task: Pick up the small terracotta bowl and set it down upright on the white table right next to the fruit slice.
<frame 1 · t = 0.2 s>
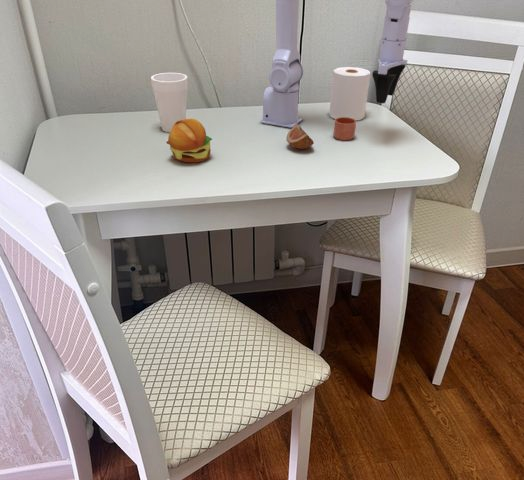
hand: (384, 98, 140), 10 cm above the table, tool pointing down, fingers open, 7 cm apart
foam cup: (173, 129, 150), on the table
toilet paper: (346, 116, 161), on the table
fruit slice: (299, 149, 140), on the table
cheeseburger: (191, 158, 134), on the table
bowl: (343, 137, 147), on the table
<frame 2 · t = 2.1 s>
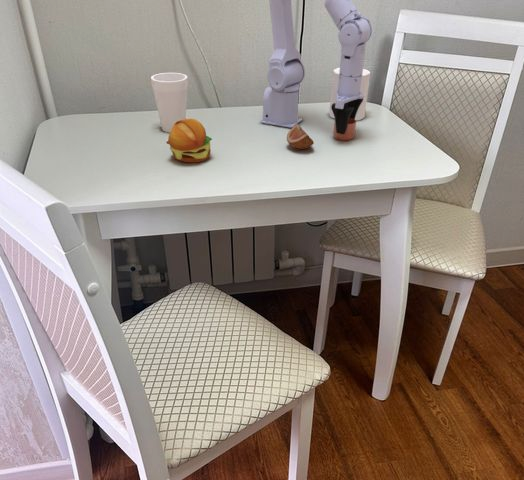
hand: (344, 129, 145), 2 cm above the table, tool pointing down, fingers closed on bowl, 5 cm apart
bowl: (343, 137, 147), on the table, touching gripper
everything else where it was.
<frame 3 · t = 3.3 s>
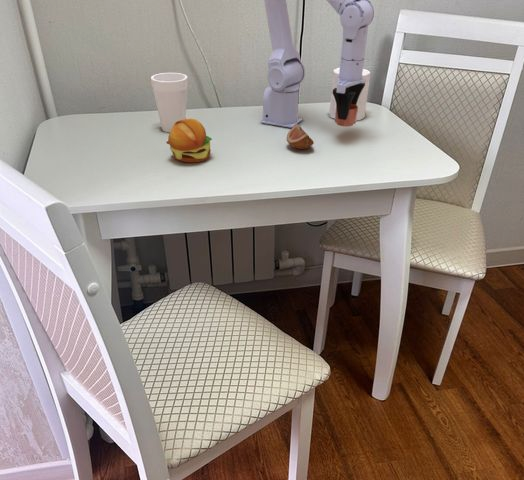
hand: (345, 115, 143), 6 cm above the table, tool pointing down, fingers closed on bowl, 5 cm apart
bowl: (345, 123, 144), point 4 cm above the table, touching gripper
everything else where it was.
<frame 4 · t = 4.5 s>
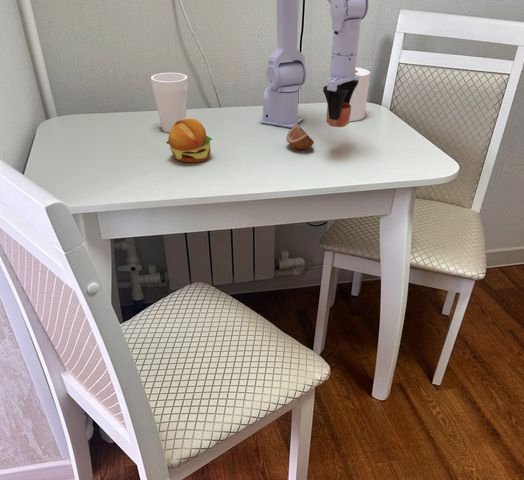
hand: (338, 115, 132), 9 cm above the table, tool pointing down, fingers closed on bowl, 5 cm apart
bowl: (337, 124, 134), point 7 cm above the table, touching gripper
everything else where it was.
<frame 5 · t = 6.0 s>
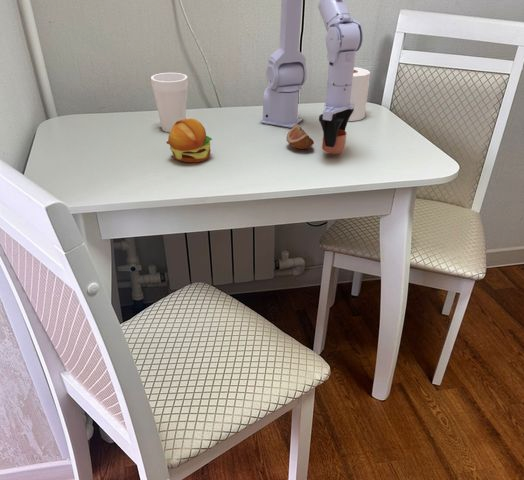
hand: (333, 142, 135), 3 cm above the table, tool pointing down, fingers closed on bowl, 5 cm apart
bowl: (333, 150, 136), point 1 cm above the table, touching gripper
everything else where it was.
when the fingers open (2 cm above the table, at t = 6.9 s): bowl stays where it is, on the table.
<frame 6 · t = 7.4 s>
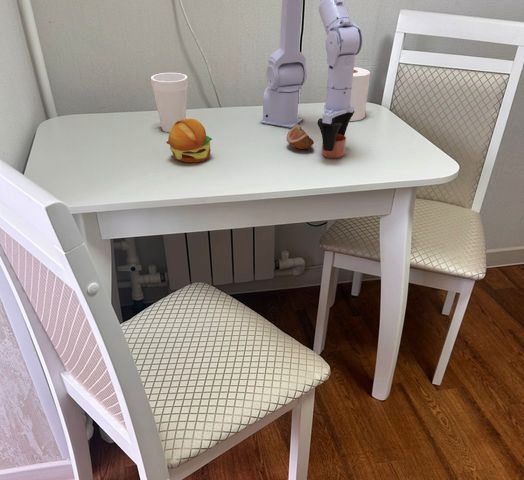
hand: (333, 145, 135), 2 cm above the table, tool pointing down, fingers open, 7 cm apart
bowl: (332, 155, 137), on the table
everything else where it was.
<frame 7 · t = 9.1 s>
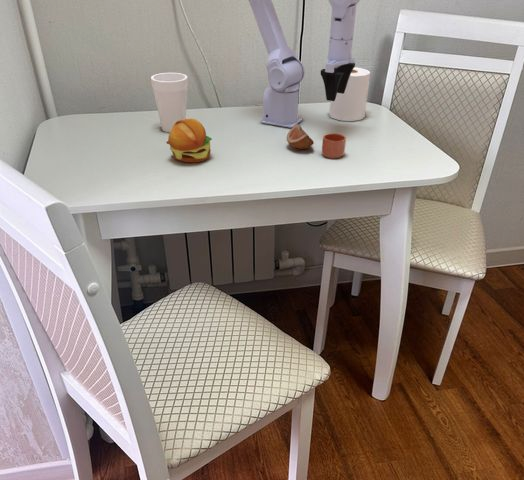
hand: (335, 96, 143), 9 cm above the table, tool pointing down, fingers open, 7 cm apart
nothing on the table moved.
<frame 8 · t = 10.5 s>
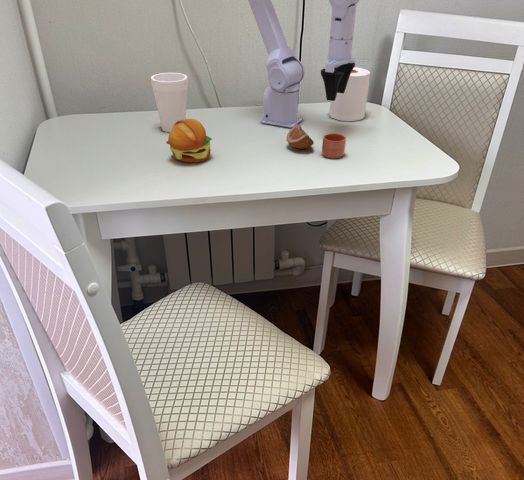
hand: (335, 96, 143), 9 cm above the table, tool pointing down, fingers open, 7 cm apart
nothing on the table moved.
at the end: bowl 9.1 cm from the fruit slice (horizontally); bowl inside the target area (0.1 cm from its centre), on the table; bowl tilted 0° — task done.
